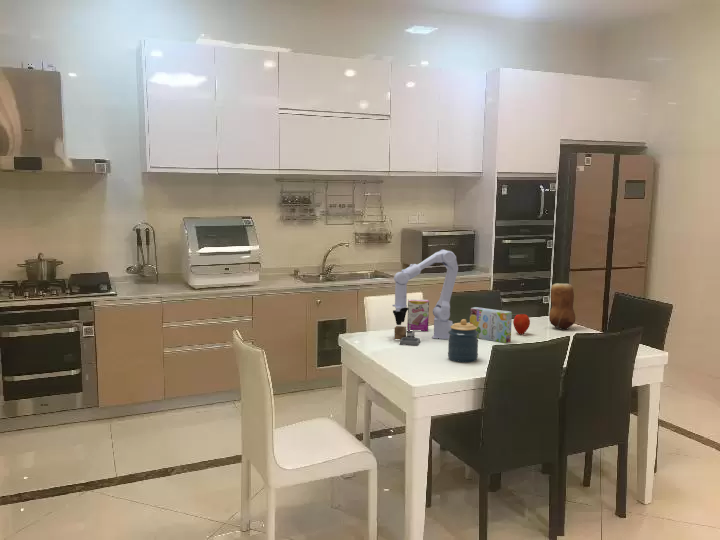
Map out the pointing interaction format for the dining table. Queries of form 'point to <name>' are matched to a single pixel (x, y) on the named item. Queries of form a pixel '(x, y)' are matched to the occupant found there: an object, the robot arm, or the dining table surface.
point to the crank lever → (410, 334)
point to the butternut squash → (562, 306)
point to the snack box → (492, 324)
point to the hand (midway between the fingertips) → (400, 323)
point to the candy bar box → (418, 314)
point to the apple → (521, 323)
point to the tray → (410, 341)
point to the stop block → (399, 332)
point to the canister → (463, 342)
